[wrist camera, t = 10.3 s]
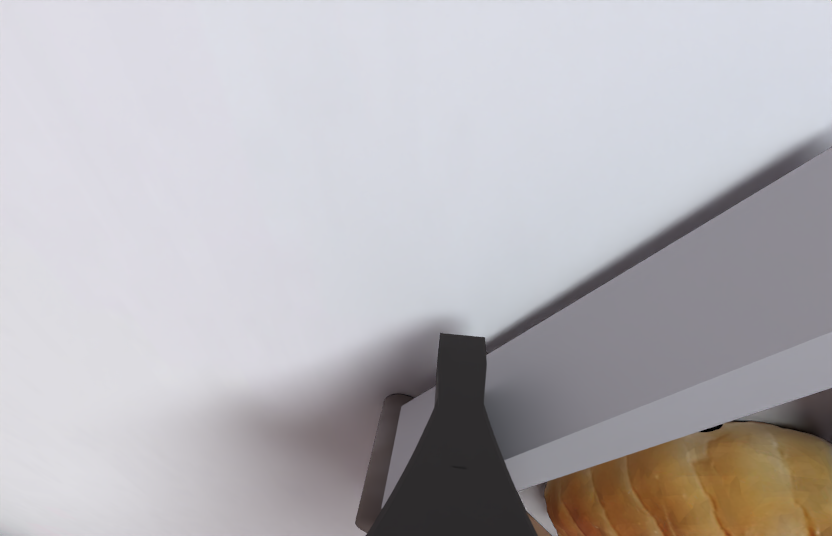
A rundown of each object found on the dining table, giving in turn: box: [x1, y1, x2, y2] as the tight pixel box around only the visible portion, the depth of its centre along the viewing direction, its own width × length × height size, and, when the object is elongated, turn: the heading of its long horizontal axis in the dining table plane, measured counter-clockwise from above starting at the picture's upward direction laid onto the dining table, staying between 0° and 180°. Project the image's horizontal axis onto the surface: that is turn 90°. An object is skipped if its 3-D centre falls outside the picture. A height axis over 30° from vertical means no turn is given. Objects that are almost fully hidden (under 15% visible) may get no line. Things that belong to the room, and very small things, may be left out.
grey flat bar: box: [381, 147, 832, 509], centre depth 9 cm, size 13×1×3 cm, turn 141°
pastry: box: [544, 421, 832, 536], centre depth 14 cm, size 9×7×4 cm
